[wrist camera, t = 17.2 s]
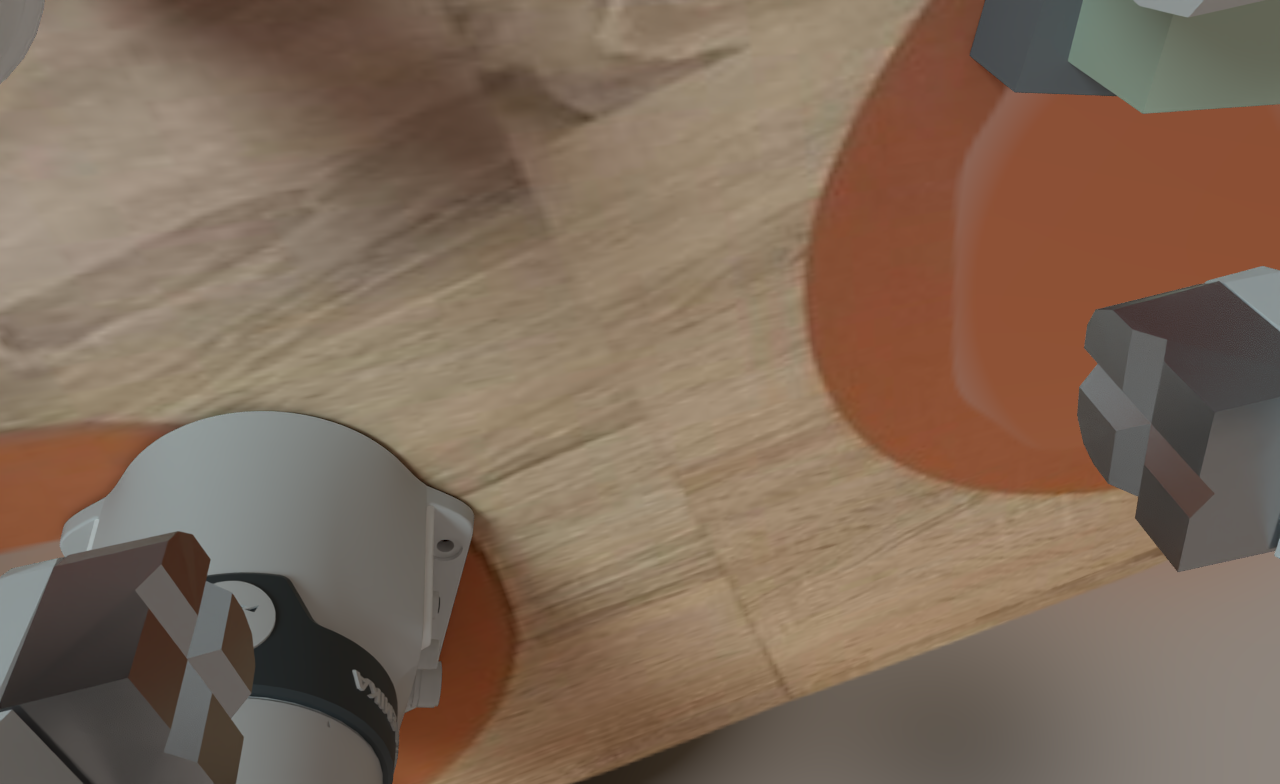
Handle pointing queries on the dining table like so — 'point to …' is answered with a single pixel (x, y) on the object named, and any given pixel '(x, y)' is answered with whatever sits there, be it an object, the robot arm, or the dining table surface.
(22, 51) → the coffee cup
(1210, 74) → the green cube
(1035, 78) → the charcoal block
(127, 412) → the dining table surface
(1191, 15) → the heart sculpture
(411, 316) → the dining table surface
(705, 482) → the dining table surface
